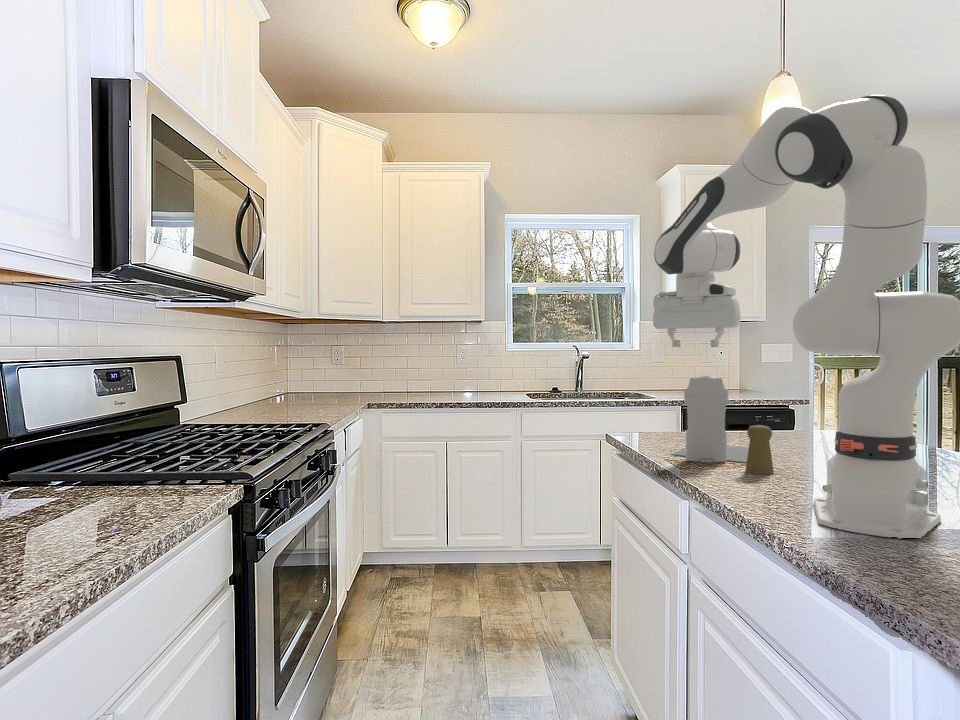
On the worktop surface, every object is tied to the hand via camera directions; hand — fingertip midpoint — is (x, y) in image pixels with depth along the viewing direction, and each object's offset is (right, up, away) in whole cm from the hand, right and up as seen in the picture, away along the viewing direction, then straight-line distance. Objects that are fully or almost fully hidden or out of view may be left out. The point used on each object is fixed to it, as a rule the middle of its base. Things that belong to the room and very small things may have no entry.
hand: (695, 347), depth 145 cm
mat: (+14, -29, +19) cm, 37 cm away
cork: (+13, -30, -5) cm, 33 cm away
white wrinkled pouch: (+6, -29, +8) cm, 31 cm away
